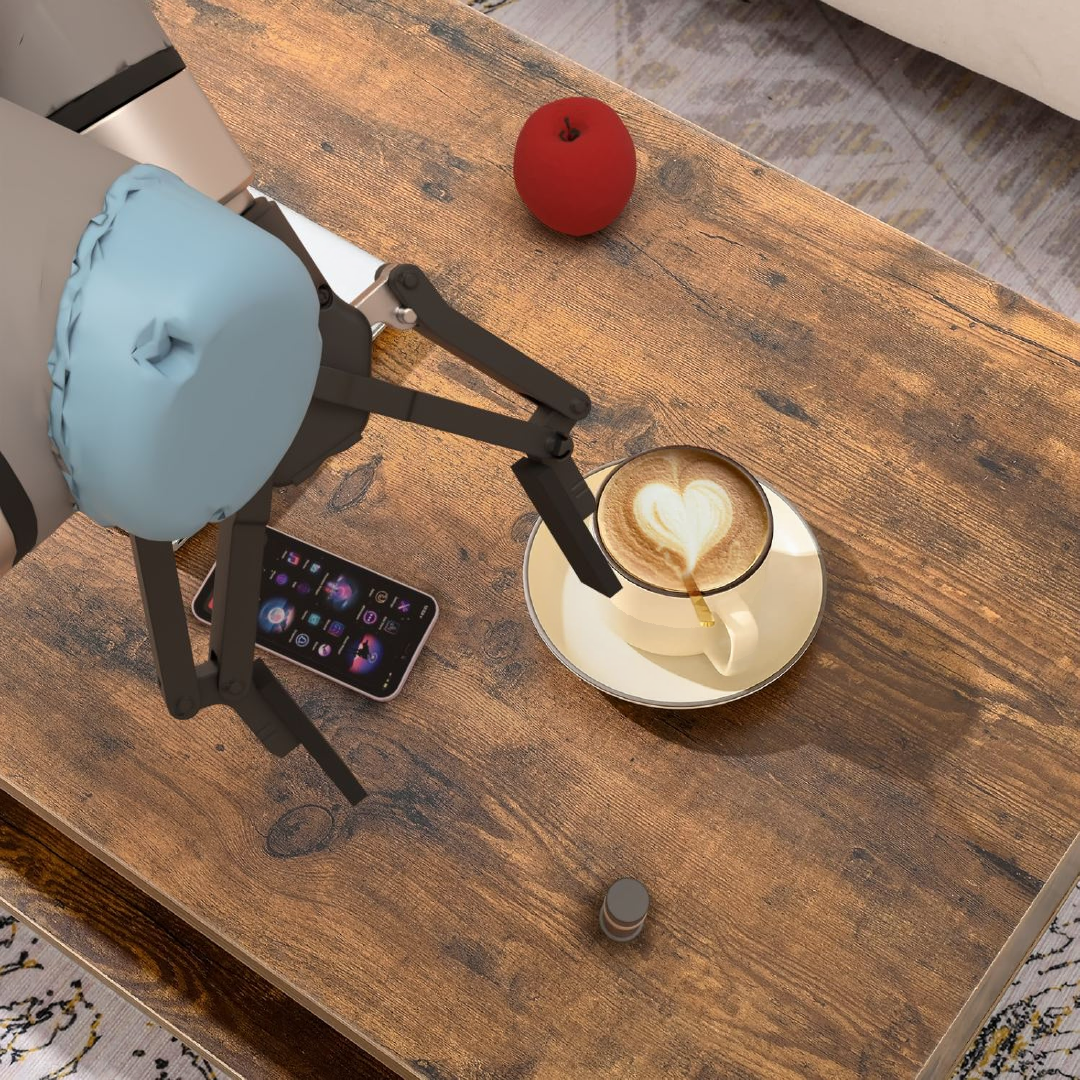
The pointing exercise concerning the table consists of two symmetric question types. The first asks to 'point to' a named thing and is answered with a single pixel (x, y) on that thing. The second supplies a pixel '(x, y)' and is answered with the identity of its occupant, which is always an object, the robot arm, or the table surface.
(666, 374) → the table surface
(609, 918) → the pepper grinder
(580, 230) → the apple
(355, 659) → the smartphone
